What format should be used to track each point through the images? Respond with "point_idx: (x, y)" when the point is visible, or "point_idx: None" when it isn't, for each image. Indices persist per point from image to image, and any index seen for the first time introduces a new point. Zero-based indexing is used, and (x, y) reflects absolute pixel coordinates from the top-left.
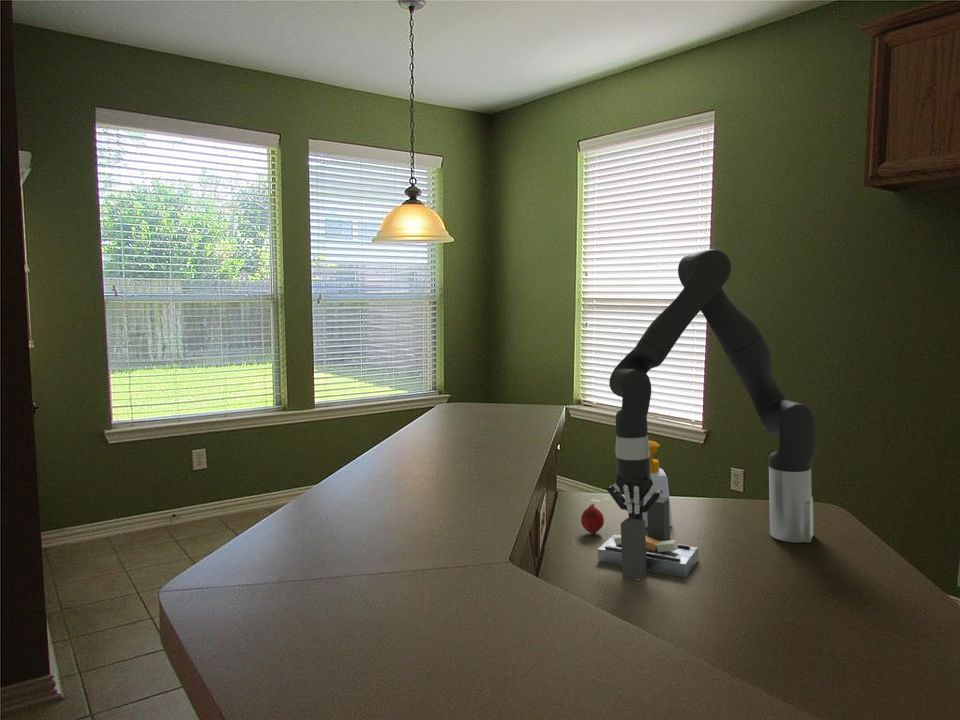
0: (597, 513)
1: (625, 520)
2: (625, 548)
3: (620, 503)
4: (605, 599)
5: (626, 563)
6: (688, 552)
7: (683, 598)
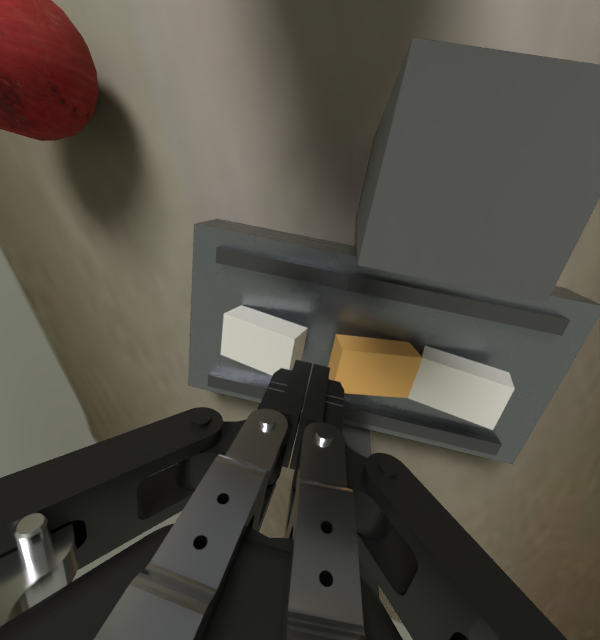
0: (11, 75)
1: None
2: None
3: (170, 500)
4: None
5: None
6: (544, 365)
7: (472, 529)
